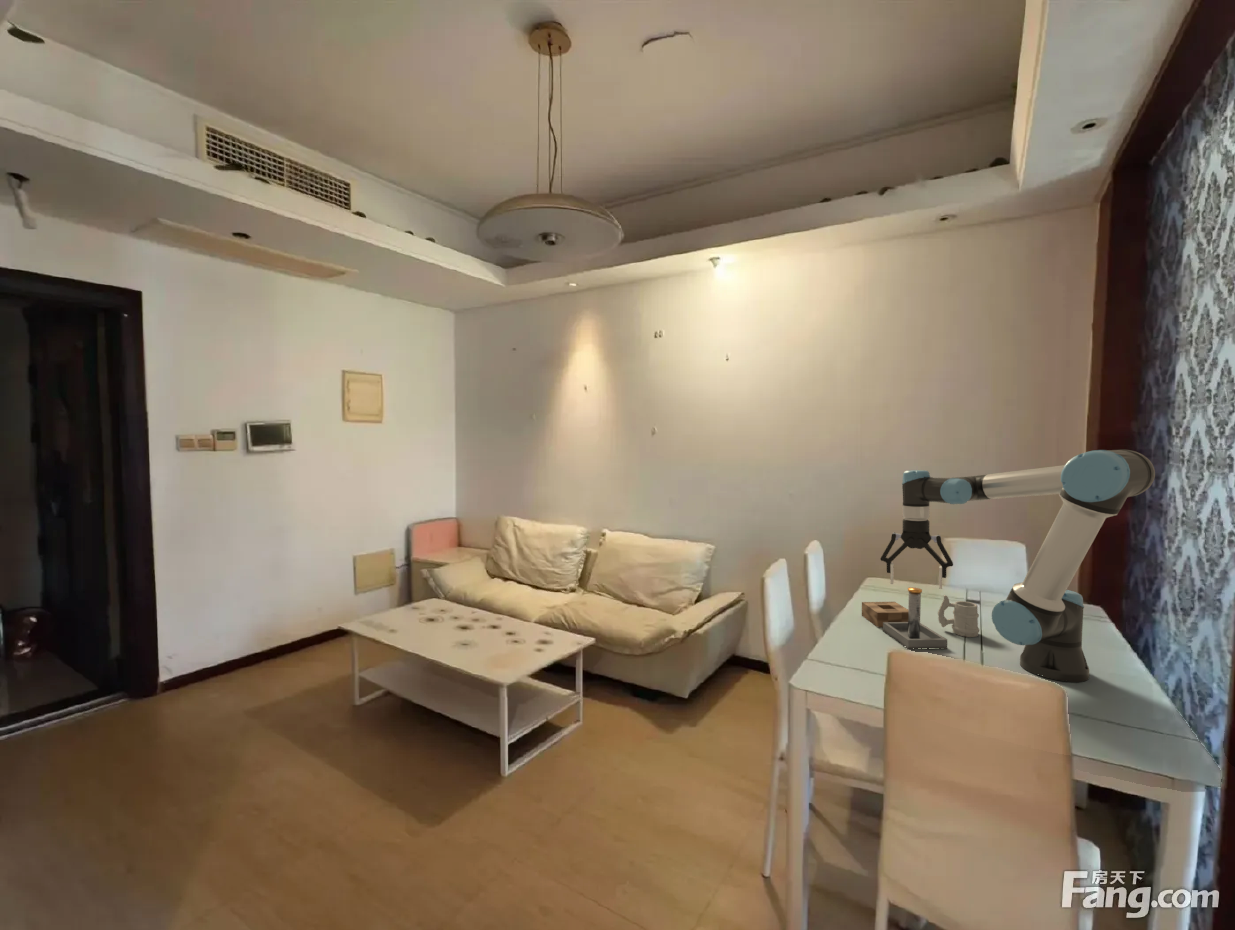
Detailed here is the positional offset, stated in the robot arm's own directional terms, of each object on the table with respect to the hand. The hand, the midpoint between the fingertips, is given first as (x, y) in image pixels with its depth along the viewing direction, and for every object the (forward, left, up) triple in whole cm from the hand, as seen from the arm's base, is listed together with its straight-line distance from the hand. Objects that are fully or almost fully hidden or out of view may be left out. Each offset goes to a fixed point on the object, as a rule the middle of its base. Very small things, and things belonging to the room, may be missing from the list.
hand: (915, 585), depth 177 cm
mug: (+6, -18, -18) cm, 26 cm away
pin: (0, 0, -17) cm, 17 cm away
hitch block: (+18, 0, -18) cm, 26 cm away
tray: (0, 0, -18) cm, 18 cm away
